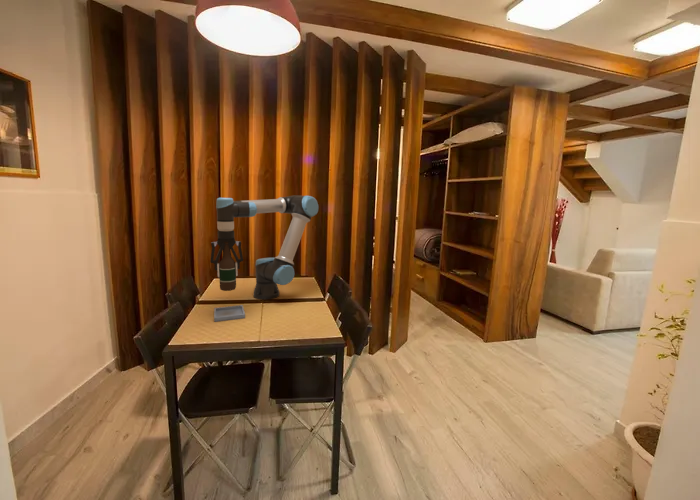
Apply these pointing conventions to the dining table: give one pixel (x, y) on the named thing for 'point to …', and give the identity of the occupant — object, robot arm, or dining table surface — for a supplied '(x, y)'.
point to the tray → (229, 313)
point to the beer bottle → (227, 270)
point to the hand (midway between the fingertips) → (227, 275)
